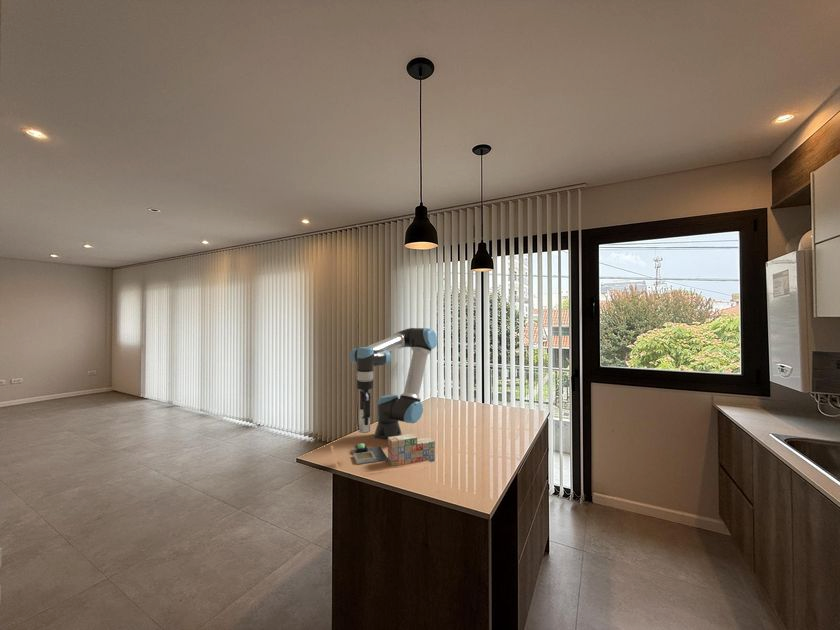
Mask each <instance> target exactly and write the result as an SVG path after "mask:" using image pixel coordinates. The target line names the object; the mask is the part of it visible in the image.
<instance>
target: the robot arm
mask: <svg viewBox="0 0 840 630" xmlns="http://www.w3.org/2000/svg"><path fill="white" fill-rule="evenodd" d="M392 334H393V335H392V336H389V337H386V338H385V339H381V340H379V341H377V342H374V343H372V344H370V345H367V346H360V347H358V348H353V349H352V350H351V351H350V352H349V360H350V362H351V363H353V364H356V366H357V367H356V373H355V376H356V377H357V378H356V379H357V381H356V388H357V389H358V390H360V391H359V410H360V409H363V417H362V418H363V432H368V433H369V417H370V418H371V392H370V391H369V390H372V389H373V388H374V381H373V380H374V367H378V366H385V365H388V364H389V363H390V362H391V360H392V354H391V351H394V350H396V349H398V350H399V349H400V350H401V349H403V348H411V351H412V355H411V359H410V363H409V367H408V373H407V377H406V382H405V385H404V391H403V393H401V394H400V396H399V395H398V394H387V395H382V396H380V397H378V400H377V401H378V402H377V426H376V428H375V431H374V438H375V439H381V440H388V437H393V436H401V435H402V430H401V427H400V424H399V422H403V423H406V424H415V423H417V422H418V421H419V420H420V419H421V418H422V415H423V412H424V405H423V404H422V402H421V398H420V392H421V386H422V383H423V377H424V373H425V369H426V364H427V359H428V355H430V354H431V352H432V350H433V349H435V348H436V347H437V344H438V336H437V333H436V332H435V330H434V329H432V328H427V327H418V328H416V327H415V328H414V327H409V328H406V329H403V330H400V331H398V332H395V333H392Z"/></svg>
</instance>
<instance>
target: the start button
mask: <svg viewBox="0 0 840 630" xmlns="http://www.w3.org/2000/svg"><path fill="white" fill-rule="evenodd" d="M365 444H366V443H357V444H356V445H357V449H360V448H365Z"/></svg>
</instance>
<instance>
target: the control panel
mask: <svg viewBox="0 0 840 630" xmlns="http://www.w3.org/2000/svg"><path fill="white" fill-rule="evenodd" d="M364 444H365V448H360V449H357V445H358V444H356V445H354V449H351V450H350V452H351V453H352V457H353V459H354V462H355V464H356V466H361V465H366V464H369V465H370V464H374V463H382V462H383V463H384V462H388V455H386V453H385V451H383V449H382V447H381V446H374V447H368V446H367V444H366V443H364Z"/></svg>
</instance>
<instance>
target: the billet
mask: <svg viewBox="0 0 840 630" xmlns="http://www.w3.org/2000/svg"><path fill="white" fill-rule="evenodd" d="M358 411H359V415H358V416H359V418H358V419H359V421H358V423H359V424H358V425H359V426H358V427H359V428H358V429H359V430H358V432H359V433H361V434H367V433H369V432H370V431H371V416H370V417H369V432H363V418H362V417H363V409H360V408H359V410H358Z"/></svg>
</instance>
